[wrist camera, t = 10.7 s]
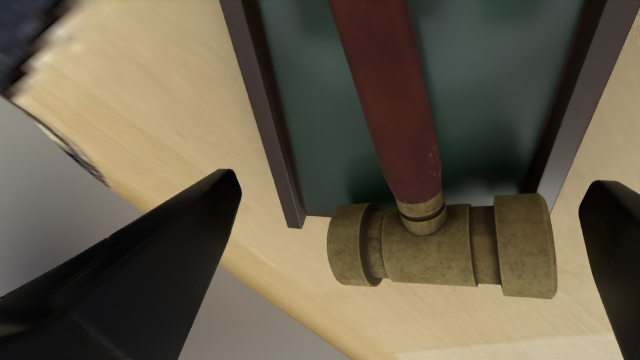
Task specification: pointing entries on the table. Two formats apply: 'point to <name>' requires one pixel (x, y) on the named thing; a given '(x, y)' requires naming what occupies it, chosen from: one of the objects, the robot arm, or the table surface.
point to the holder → (430, 95)
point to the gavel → (424, 181)
